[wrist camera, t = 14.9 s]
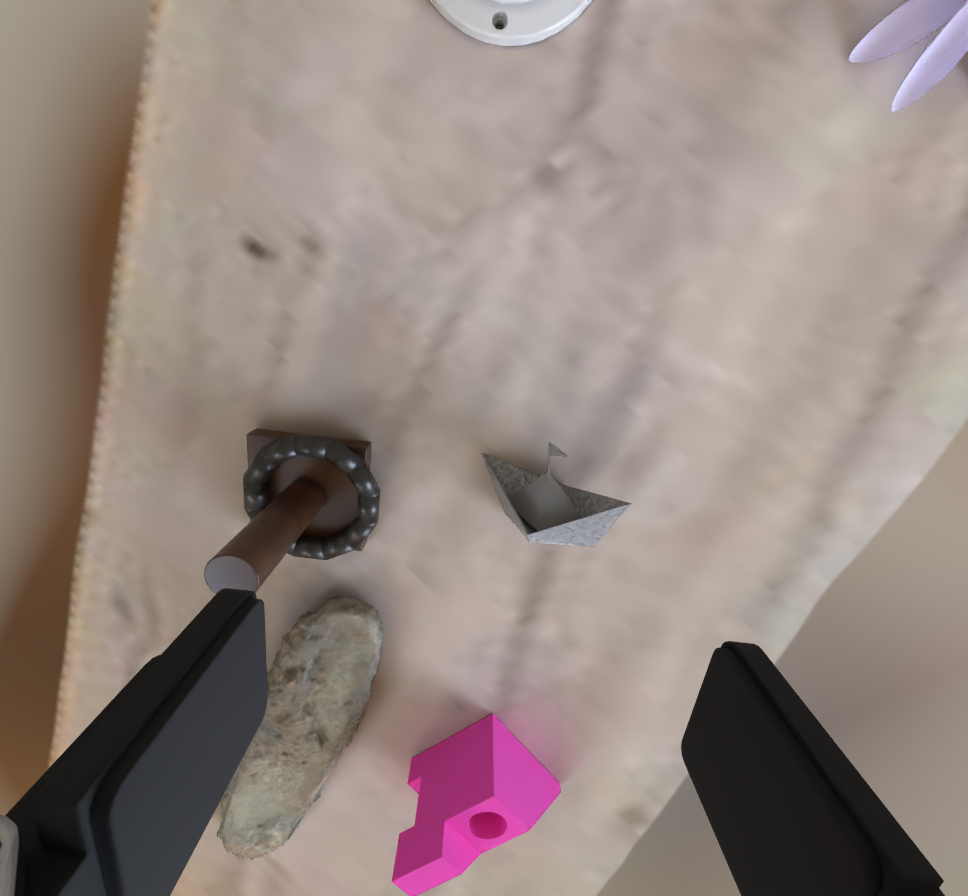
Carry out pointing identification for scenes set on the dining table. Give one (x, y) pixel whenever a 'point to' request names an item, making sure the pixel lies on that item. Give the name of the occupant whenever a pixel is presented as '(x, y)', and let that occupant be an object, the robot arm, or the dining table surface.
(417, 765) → the bracket
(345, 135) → the dining table surface
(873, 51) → the water lily
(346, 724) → the long grey stone
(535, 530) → the paper boat
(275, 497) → the peg stand
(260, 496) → the hoop
